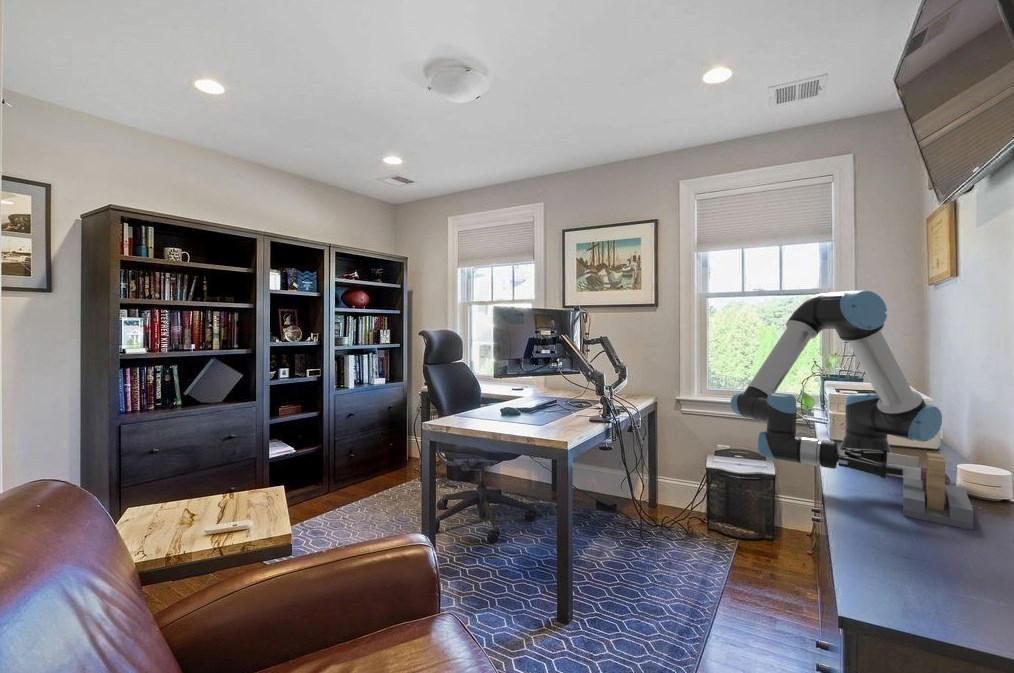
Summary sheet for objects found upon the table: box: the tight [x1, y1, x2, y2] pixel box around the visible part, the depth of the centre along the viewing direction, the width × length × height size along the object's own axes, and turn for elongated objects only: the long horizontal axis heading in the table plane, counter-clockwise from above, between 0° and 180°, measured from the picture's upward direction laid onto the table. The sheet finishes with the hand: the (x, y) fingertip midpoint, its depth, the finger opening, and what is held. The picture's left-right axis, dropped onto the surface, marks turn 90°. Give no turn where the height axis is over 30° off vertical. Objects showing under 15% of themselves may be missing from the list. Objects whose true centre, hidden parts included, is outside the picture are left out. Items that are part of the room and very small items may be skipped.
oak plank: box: [925, 452, 946, 511], centre depth 117 cm, size 9×3×12 cm, turn 140°
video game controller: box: [902, 467, 951, 487], centre depth 134 cm, size 10×5×7 cm, turn 63°
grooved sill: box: [902, 478, 974, 531], centre depth 117 cm, size 20×12×4 cm, turn 140°
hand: (919, 468), depth 118 cm, fingers open, 13 cm apart
